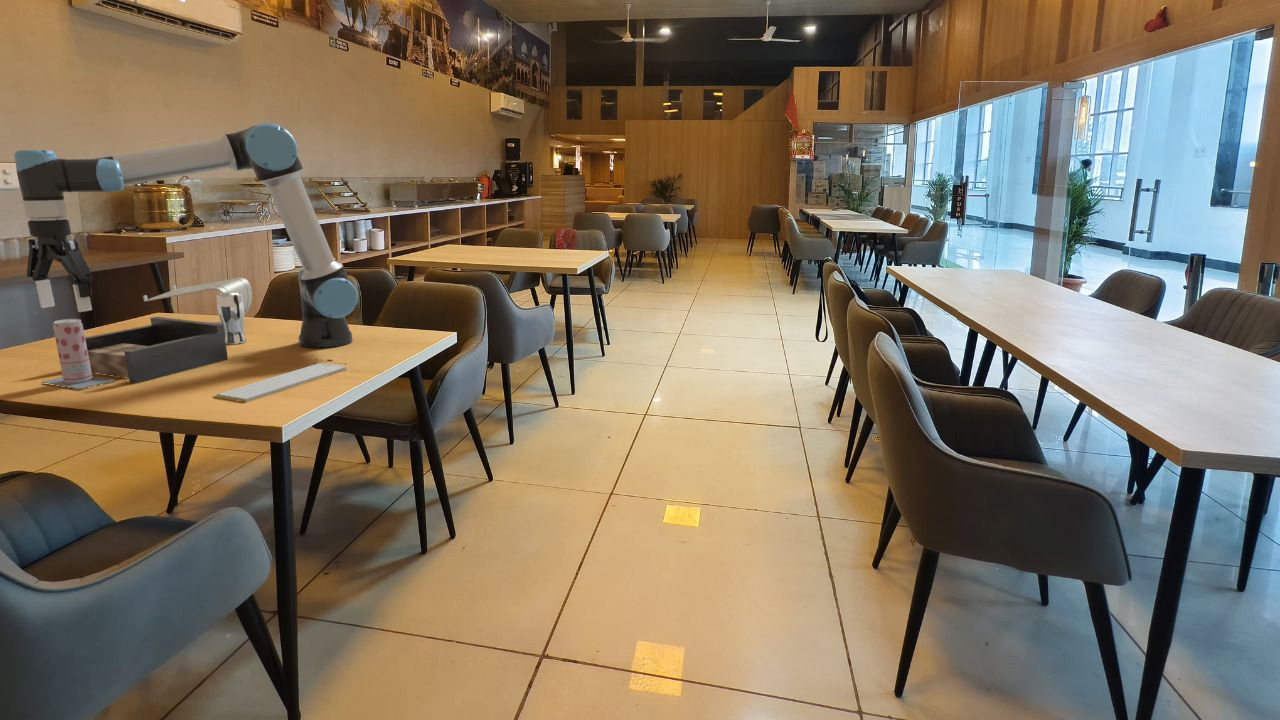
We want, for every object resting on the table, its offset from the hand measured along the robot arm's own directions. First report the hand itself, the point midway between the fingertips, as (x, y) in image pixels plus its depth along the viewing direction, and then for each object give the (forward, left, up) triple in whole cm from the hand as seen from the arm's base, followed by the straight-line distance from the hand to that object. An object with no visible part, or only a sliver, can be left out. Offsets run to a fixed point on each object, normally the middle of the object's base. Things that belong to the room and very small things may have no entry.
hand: (66, 309), depth 174 cm
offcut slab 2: (0, -9, -19) cm, 20 cm away
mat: (0, 0, -18) cm, 18 cm away
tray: (0, -19, -18) cm, 26 cm away
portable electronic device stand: (+28, -56, -19) cm, 65 cm away
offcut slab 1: (0, -12, -19) cm, 22 cm away
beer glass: (+3, -47, -19) cm, 50 cm away
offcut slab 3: (0, -15, -19) cm, 24 cm away
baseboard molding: (-44, -20, -19) cm, 52 cm away
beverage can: (0, 0, -18) cm, 18 cm away
